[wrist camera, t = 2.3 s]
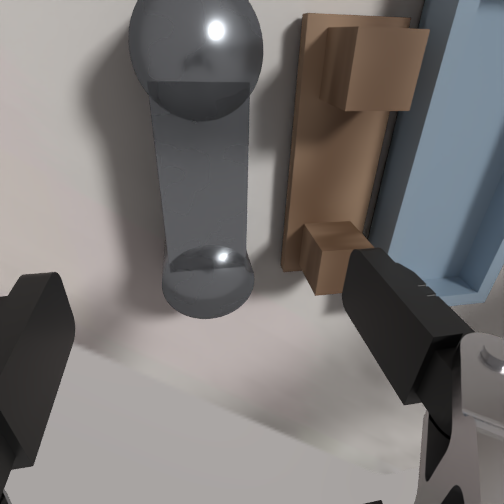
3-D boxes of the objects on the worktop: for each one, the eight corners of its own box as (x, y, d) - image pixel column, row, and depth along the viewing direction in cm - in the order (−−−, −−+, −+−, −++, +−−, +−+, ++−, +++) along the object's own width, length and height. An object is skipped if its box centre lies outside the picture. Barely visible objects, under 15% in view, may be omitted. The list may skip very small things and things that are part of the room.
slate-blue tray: (605, -48, 17) (665, -60, 15) (461, 281, 27) (484, 302, 25) (440, -63, 15) (480, -78, 13) (355, 292, 26) (370, 314, 24)
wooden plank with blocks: (401, 18, 17) (457, 14, 13) (349, 259, 24) (377, 295, 21) (302, 13, 16) (335, 9, 13) (280, 265, 23) (297, 303, 20)
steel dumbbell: (249, -17, 15) (266, -29, 12) (243, 279, 24) (252, 314, 21) (129, -24, 14) (117, -39, 11) (168, 285, 23) (167, 323, 20)
